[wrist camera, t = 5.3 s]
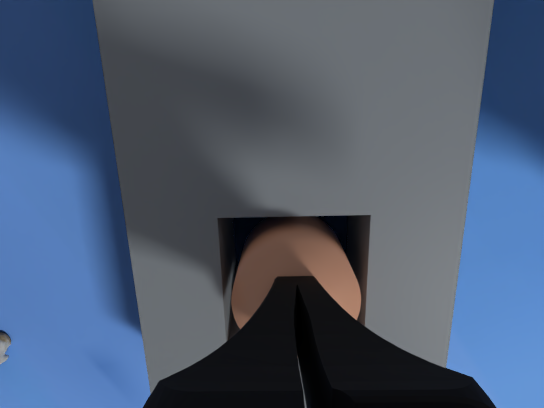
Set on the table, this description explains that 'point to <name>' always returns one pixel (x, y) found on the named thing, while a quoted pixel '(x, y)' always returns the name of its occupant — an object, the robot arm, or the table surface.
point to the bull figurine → (4, 346)
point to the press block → (293, 151)
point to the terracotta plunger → (292, 263)
